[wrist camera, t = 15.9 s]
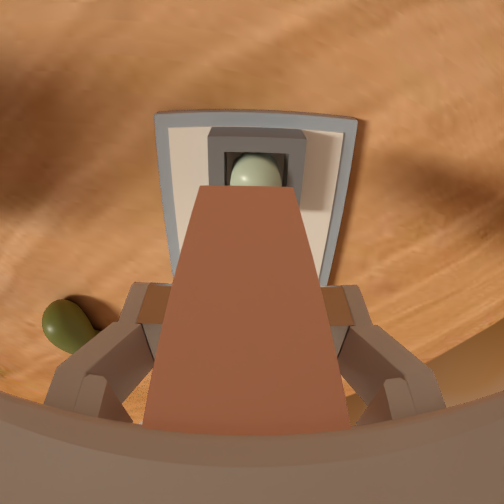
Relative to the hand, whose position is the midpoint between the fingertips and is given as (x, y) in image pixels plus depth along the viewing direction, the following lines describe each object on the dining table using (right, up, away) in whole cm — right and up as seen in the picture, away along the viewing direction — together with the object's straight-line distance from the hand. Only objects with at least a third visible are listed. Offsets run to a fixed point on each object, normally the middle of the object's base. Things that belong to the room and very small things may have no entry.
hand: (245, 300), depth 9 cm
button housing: (0, +7, +13) cm, 15 cm away
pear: (-20, -7, +25) cm, 33 cm away
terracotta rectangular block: (0, +2, +3) cm, 4 cm away
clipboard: (0, +2, +18) cm, 19 cm away
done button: (0, +7, +12) cm, 14 cm away
